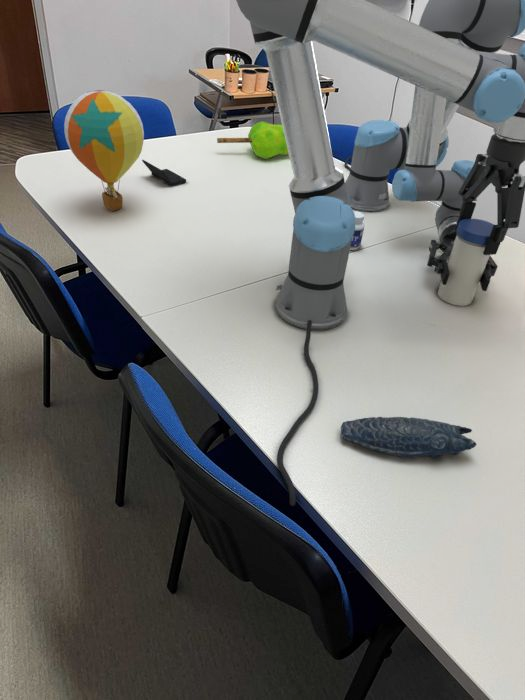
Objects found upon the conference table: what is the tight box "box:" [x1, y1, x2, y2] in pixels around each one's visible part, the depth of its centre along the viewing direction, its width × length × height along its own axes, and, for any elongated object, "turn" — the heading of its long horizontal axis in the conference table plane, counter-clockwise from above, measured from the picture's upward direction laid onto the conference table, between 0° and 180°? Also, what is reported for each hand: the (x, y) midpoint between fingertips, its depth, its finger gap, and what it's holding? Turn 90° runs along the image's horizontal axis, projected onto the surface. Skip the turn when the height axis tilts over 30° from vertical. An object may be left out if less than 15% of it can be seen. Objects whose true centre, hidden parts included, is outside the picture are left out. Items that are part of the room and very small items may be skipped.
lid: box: [456, 218, 495, 245], centre depth 112 cm, size 9×9×2 cm
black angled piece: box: [141, 159, 187, 187], centre depth 162 cm, size 12×7×10 cm
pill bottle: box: [350, 210, 365, 251], centre depth 135 cm, size 5×5×9 cm
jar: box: [437, 235, 491, 307], centre depth 117 cm, size 8×8×17 cm
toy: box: [63, 89, 145, 212], centre depth 136 cm, size 20×20×30 cm
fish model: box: [340, 416, 477, 458], centre depth 82 cm, size 7×21×5 cm, turn 84°
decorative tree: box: [216, 121, 289, 160], centre depth 186 cm, size 18×10×30 cm
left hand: (474, 241), depth 113 cm, fingers open, 10 cm apart
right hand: (466, 282), depth 114 cm, fingers closed on jar, 8 cm apart
